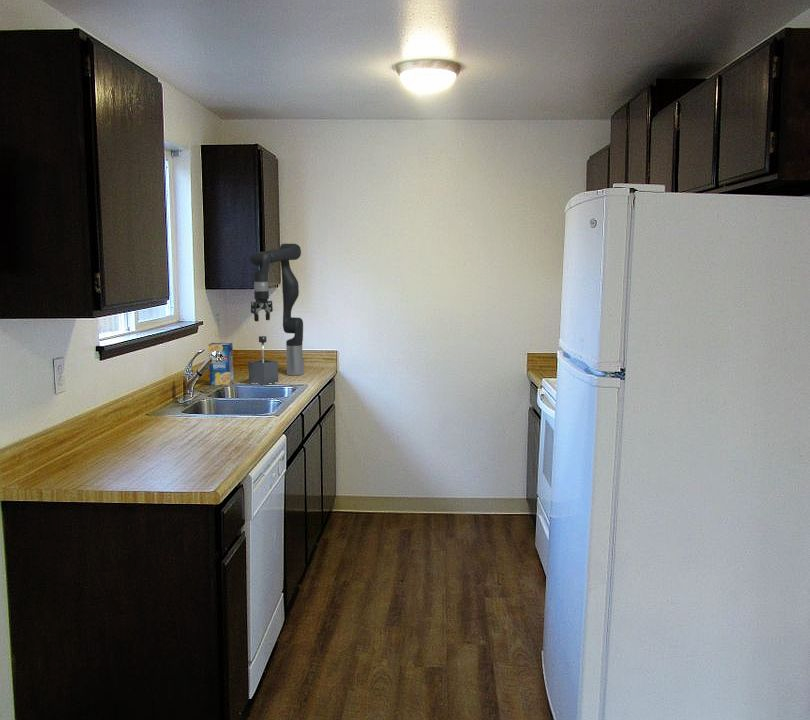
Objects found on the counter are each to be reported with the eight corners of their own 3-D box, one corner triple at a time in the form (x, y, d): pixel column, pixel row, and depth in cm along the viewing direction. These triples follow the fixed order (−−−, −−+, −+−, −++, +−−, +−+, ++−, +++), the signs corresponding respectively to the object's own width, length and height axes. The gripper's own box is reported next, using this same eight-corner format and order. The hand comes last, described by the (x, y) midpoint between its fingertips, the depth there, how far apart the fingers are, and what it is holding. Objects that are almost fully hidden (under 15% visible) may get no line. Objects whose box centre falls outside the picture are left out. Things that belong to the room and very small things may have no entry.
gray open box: (263, 381, 406) (262, 359, 404) (278, 382, 400) (277, 361, 399) (249, 384, 397) (248, 361, 395) (264, 385, 391) (263, 363, 389)
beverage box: (230, 385, 392) (228, 344, 389) (209, 385, 392) (208, 344, 389) (233, 383, 399) (232, 342, 396) (213, 383, 399) (212, 342, 396)
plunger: (262, 364, 403) (262, 335, 401) (274, 365, 398) (273, 336, 396) (252, 366, 396) (251, 336, 394) (263, 367, 392) (263, 337, 389)
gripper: (265, 289, 400) (266, 319, 402) (246, 290, 388) (247, 321, 390) (275, 290, 396) (276, 320, 398) (257, 290, 384) (258, 322, 386)
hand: (262, 320), depth 394 cm, fingers open, 8 cm apart
